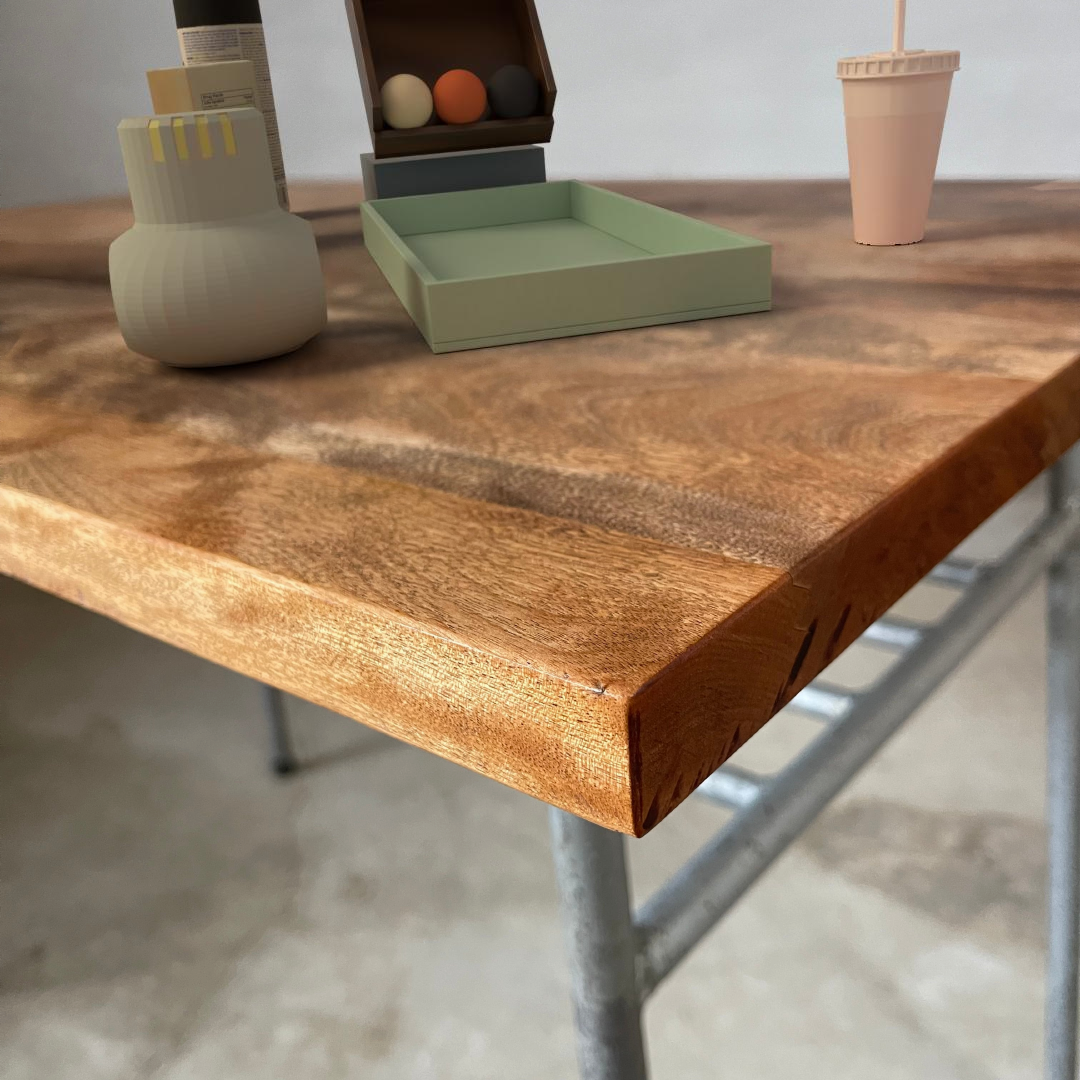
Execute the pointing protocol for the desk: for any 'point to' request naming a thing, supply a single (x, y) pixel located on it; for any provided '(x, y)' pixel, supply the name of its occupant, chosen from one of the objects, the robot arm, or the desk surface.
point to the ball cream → (406, 102)
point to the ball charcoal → (513, 92)
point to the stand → (452, 171)
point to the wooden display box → (449, 67)
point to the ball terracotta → (459, 97)
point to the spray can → (233, 57)
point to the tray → (556, 263)
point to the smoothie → (894, 135)
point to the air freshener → (211, 245)
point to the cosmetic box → (204, 87)
